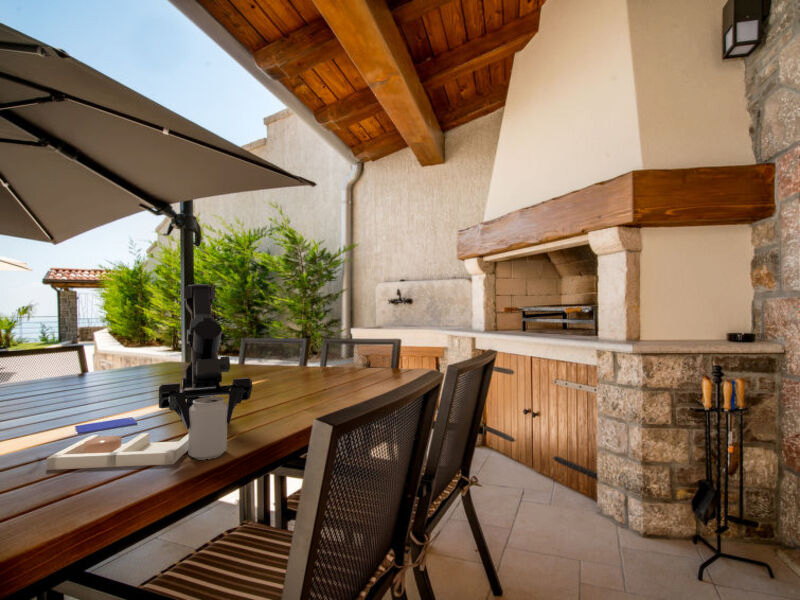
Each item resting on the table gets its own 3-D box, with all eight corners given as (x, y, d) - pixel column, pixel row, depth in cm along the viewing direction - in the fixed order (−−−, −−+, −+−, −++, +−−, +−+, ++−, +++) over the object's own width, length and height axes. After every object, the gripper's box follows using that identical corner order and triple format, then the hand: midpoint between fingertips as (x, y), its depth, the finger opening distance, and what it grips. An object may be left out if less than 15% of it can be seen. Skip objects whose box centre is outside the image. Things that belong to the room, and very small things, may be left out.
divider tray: (91, 447, 91) (91, 435, 91) (197, 442, 94) (197, 431, 94) (46, 472, 77) (47, 457, 77) (173, 466, 80) (173, 452, 80)
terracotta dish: (102, 448, 88) (102, 435, 88) (128, 450, 87) (128, 436, 87) (75, 459, 82) (75, 444, 82) (103, 461, 81) (103, 446, 81)
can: (233, 449, 90) (234, 395, 90) (214, 462, 82) (215, 403, 82) (201, 448, 90) (202, 394, 91) (180, 460, 83) (181, 402, 83)
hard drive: (131, 416, 113) (75, 425, 104) (137, 422, 107) (78, 432, 98) (131, 422, 113) (75, 431, 104) (137, 428, 107) (77, 438, 98)
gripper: (159, 346, 86) (157, 409, 76) (251, 343, 95) (260, 399, 85) (159, 377, 92) (157, 439, 82) (245, 372, 102) (252, 427, 92)
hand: (208, 425), depth 85 cm, fingers closed on can, 7 cm apart
